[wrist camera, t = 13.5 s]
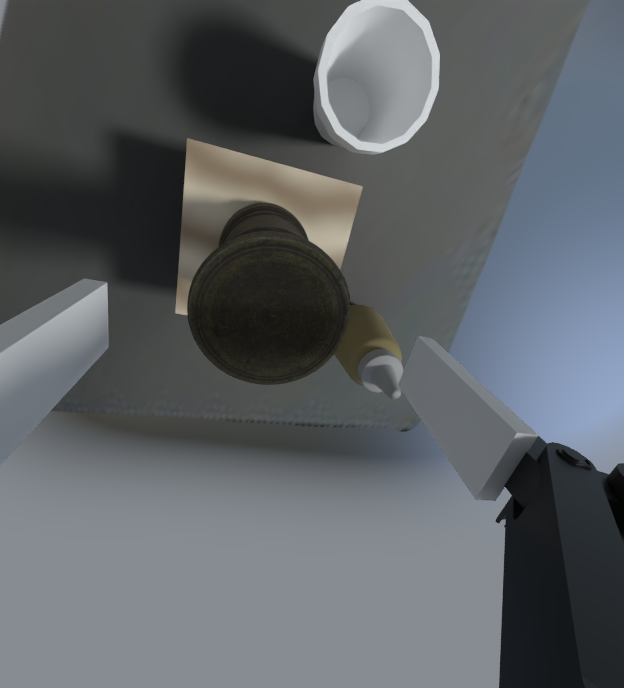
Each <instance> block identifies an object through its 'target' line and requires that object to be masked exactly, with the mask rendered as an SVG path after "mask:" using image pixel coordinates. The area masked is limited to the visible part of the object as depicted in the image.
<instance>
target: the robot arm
mask: <svg viewBox="0 0 624 688" xmlns="http://www.w3.org/2000/svg"><path fill="white" fill-rule="evenodd" d="M108 347H109V339H108V295H107V282H102V281H96V280H90V279H83V280H81V281H79V282H77V283H75V284H74V285H72V286H70V287H68V288H66V289H65V290H63V291H61V292H59V293H57V294H55V295H54V296H52V297H50V298H48V299H46V300H45V301H43V302H41V303H39V304H37V305H35V306H34V307H32V308H30V309H28V310H26V311H25V312H23V313H21V314H19V315H17V316H16V317H14V318H12V319H10V320H8V321H6V322H5V323H3V324H1V325H0V465H1V464H2V463H3V462H4V461H5V460H6V459H7V458H8V457H9V456H10V454H11V453H12V452H13V451H14V450H15V449H16V448H17V447H18V445H20V443H21V442H22V441H23V440H24V439H25V438H26V437H27V436H28V435H29V434H30V433H31V432H32V430H33V429H34V428H35V427H36V426H37V425H38V424H39V423H40V421H42V419H43V418H44V417H45V416H46V415H47V414H48V413H49V412H50V411H51V410H52V409H53V408H54V406H55V405H56V404H57V403H58V402H59V401H60V400H61V399H62V398H63V397H64V395H65V394H66V393H67V392H68V391H69V390H70V389H71V388H72V387H73V386H74V385H75V383H76V382H77V381H78V380H79V379H80V378H81V377H82V376H83V375H84V374H85V373H86V371H87V370H88V369H89V368H90V367H91V366H92V365H93V364H94V363H95V362H96V361H97V359H98V358H99V357H100V356H101V355H102V354H103V353H104V352H105V351H106V350H107V348H108ZM398 386H399V387H400V389H401V390H402V392H403V393H404V395H405V396H406V398H407V399H408V401H409V402H410V404H411V405H412V407H413V408H414V410H415V411H416V413H417V414H418V416H419V417H420V418H421V420H422V421H423V423H424V424H425V426H426V427H427V429H428V430H429V432H430V433H431V435H432V436H433V438H434V439H435V440H436V442H437V443H438V445H439V446H440V448H441V449H442V451H443V452H444V454H445V455H446V457H447V458H448V460H449V461H450V463H451V464H452V466H453V467H454V469H455V470H456V472H457V473H458V474H459V476H460V477H461V479H462V480H463V482H464V483H465V485H466V486H467V488H468V489H469V491H470V492H471V494H472V495H473V496H474V498H475V499H476V500H494V501H496V499H497V497H498V496H499V495H500V493H501V492H502V490H503V489H504V487H506V488H507V490H508V491H509V492H510V493H511V495H512V497H511V498H510V500H509V501H508V502H507V504H506V505H505V507H504V508H503V510H502V511H501V513H500V514H499V516H498V517H497V519H496V522H497V523H500V521H501V520H502V519H506V525H505V526H504V527H506V528H505V553H504V579H503V605H502V629H501V655H500V679H499V680H500V682H499V688H624V463H623V464H618V465H617V466H616V467H615V468H614V470H613V471H612V472H611V473H610V474H606V473H603V472H599V471H597V470H596V468H595V467H594V465H593V464H592V463H591V462H590V461H589V460H588V459H587V458H585V457H584V456H582V455H581V454H580V453H578V452H577V451H575V450H573V449H571V448H569V447H567V446H564V445H561V444H559V443H553V442H552V443H548V444H547V443H546V442H545V441H543V440H542V439H541V438H540V437H539V436H538V434H536V432H535V431H533V430H532V429H531V428H530V427H529V426H528V425H527V424H526V423H524V421H523V420H521V419H520V418H519V417H518V416H517V415H516V414H515V413H514V412H513V411H511V410H510V409H509V408H508V407H507V406H506V405H505V404H504V403H503V402H502V401H501V400H499V399H498V398H497V397H496V396H495V395H494V394H493V393H492V392H491V391H490V390H488V389H487V388H486V387H485V386H484V385H483V384H482V383H481V382H480V381H479V380H477V379H476V378H475V377H474V376H473V375H472V374H471V373H470V372H469V371H467V370H466V369H465V368H464V367H463V366H462V365H461V364H460V363H459V362H457V360H455V359H454V358H453V357H452V356H451V355H450V354H449V353H448V352H447V351H446V350H444V349H443V348H442V347H441V346H440V345H439V344H438V343H437V342H436V341H435V340H433V339H432V338H427V337H421V336H418V337H417V340H416V342H415V345H414V347H413V349H412V352H411V354H410V357H409V359H408V362H407V364H406V367H405V369H404V372H403V374H402V377H401V379H400V382H399V384H398Z"/></svg>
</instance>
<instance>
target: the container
mask: <svg viewBox="0 0 624 688" xmlns="http://www.w3.org/2000/svg"><path fill="white" fill-rule="evenodd" d="M187 314H188V321H189V325H190V329H191V332H192V335H193V337H194V339H195V341H196V343H197V345H198V346H199V348H200V350H201V351H202V352H203V354H204V355H205V356H206V357H207V358H208V359H209V360H210V361H211V362H212V363H213V364H214V365H215V366H216V367H217V368H219V369H220V370H222V371H223V372H225V373H227V374H228V375H230V376H232V377H235V378H237V379H240V380H243V381H246V382H250V383H255V384H267V385H268V384H283V383H288V382H292V381H295V380H298V379H301V378H303V377H306V376H308V375H309V374H311V373H313V372H315V371H316V370H318V369H319V368H320V367H322V366H323V365H324V364H325V363H326V362H327V361H328V360H329V359H330V358H331V357H332V356H333V355H334V353H335V352H336V351H337V349H338V347H339V346H340V344H341V342H342V340H343V338H344V336H345V333H346V330H347V327H348V323H349V318H350V296H349V291H348V287H347V284H346V281H345V279H344V277H343V275H342V273H341V271H340V269H339V268H338V266H337V265H336V263H335V262H334V261H333V260H332V259H331V258H330V256H328V255H327V254H326V253H325V252H324V251H323V250H322V249H321V248H319V247H318V246H317V245H315V244H313V243H312V242H310V241H309V240H308V237H307V234H306V232H305V230H304V228H303V226H302V225H301V223H300V222H299V220H298V219H297V218H296V217H295V216H294V215H293V214H292V213H291V212H289V211H288V210H286V209H285V208H283V207H281V206H279V205H276V204H273V203H267V202H260V203H254V204H251V205H248V206H246V207H244V208H242V209H240V210H239V211H237V212H236V213H235V214H234V215H233V216H232V217H231V218H230V219H229V220H228V221H227V223H226V225H225V226H224V228H223V230H222V233H221V236H220V240H219V247H218V248H217V249H215V250H214V251H213V252H212V253H211V254H210V255H209V256H208V257H207V258H206V259H205V260H204V262H203V263H202V264H201V265H200V267H199V269H198V270H197V272H196V274H195V276H194V278H193V280H192V283H191V286H190V289H189V294H188V302H187Z"/></svg>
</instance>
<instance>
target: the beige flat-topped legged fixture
mask: <svg viewBox="0 0 624 688" xmlns="http://www.w3.org/2000/svg"><path fill="white" fill-rule="evenodd" d="M362 188H363V187H362V186H358V185H355V184H351V183H347V182H344V181H340V180H337V179H333V178H329V177H326V176H322V175H318V174H315V173H311V172H308V171H304V170H300V169H297V168H293V167H290V166H286V165H282V164H279V163H275V162H271V161H268V160H264V159H261V158H257V157H253V156H250V155H246V154H243V153H239V152H235V151H232V150H228V149H224V148H221V147H217V146H214V145H210V144H206V143H203V142H199V141H195V140H192V139H188V138H187V150H186V164H185V179H184V194H183V208H182V223H181V238H180V252H179V267H178V282H177V296H176V311H175V313H177V314H183V315H188V314H187V302H188V294H189V289H190V286H191V283H192V280H193V278H194V276H195V274H196V272H197V270H198V269H199V267H200V265H201V264H202V263H203V262H204V260H205V259H206V258H207V257H208V256H209V255H210V254H211V253H212V252H213V251H214V250H215V249H217V248H218V247H219V240H220V236H221V233H222V230H223V228H224V226H225V225H226V223H227V221H228V220H229V219H230V218H231V217H232V216H233V215H234V214H235V213H236V212H237V211H239V210H240V209H242V208H244V207H246V206H248V205H251V204H254V203H260V202H267V203H273V204H276V205H279V206H281V207H283V208H285V209H286V210H288V211H289V212H291V213H292V214H293V215H294V216H295V217H296V218H297V219H298V220H299V222H300V223H301V225H302V226H303V228H304V230H305V232H306V234H307V237H308V240H309V241H310V242H312V243H313V244H315V245H317V246H318V247H319V248H321V249H322V250H323V251H324V252H325V253H326V254H327V255H328V256H330V258H331V259H332V260H333V261H334V262H335V263H336V265H337V266H338V268H339V269H341V265H342V262H343V258H344V254H345V251H346V247H347V243H348V239H349V236H350V232H351V228H352V225H353V221H354V217H355V214H356V210H357V206H358V202H359V199H360V195H361V191H362Z"/></svg>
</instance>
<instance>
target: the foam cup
mask: <svg viewBox="0 0 624 688" xmlns="http://www.w3.org/2000/svg"><path fill="white" fill-rule="evenodd" d="M439 61H440V53H439V50H438V47H437V44H436V41H435V39H434V36H433V33H432V30H431V27H430V24H429V21H428V20H427V19H426V18H425V17H424V16H423V15H422V14H421V13H420V12H419V11H418V10H417V9H416V8H415V7H414V6H413V5H412V4H411V3H410V2H409V1H408V0H361V1H359V2H356V3H354V4H352V5H350V6H348V8H347V9H346V10H345V11H344V13H343V14H342V15H341V17H340V18H339V19H338V21H337V22H336V23H335V25H334V26H333V27H332V29H331V30H330V31H329V33H328V34H327V36H326V38H325V40H324V42H323V45H322V47H321V51H320V55H319V59H318V63H317V66H316V70H315V74H314V78H313V82H314V91H315V93H314V104H313V112H314V121H315V125H316V127H317V129H318V131H319V133H320V135H321V137H322V138H324V139H325V140H326V141H328V142H329V143H331V144H332V145H335V146H339V147H343V148H346V149H347V150H348V151H350V152H355V153H363V154H372V155H374V154H379V153H383V152H385V151H387V150H390V149H392V148H394V147H397V146H399V145H401V144H404V143H406V142H407V141H408V140H409V139H410V138H411V137H412V136H413V135H414V134H415V132H416V131H417V130H418V129H419V128H420V127H421V126H422V125H423V124H424V122H425V121H426V120H427V118H428V115H429V113H430V110H431V107H432V105H433V102H434V100H435V97H436V94H437V92H438V89H439Z"/></svg>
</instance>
